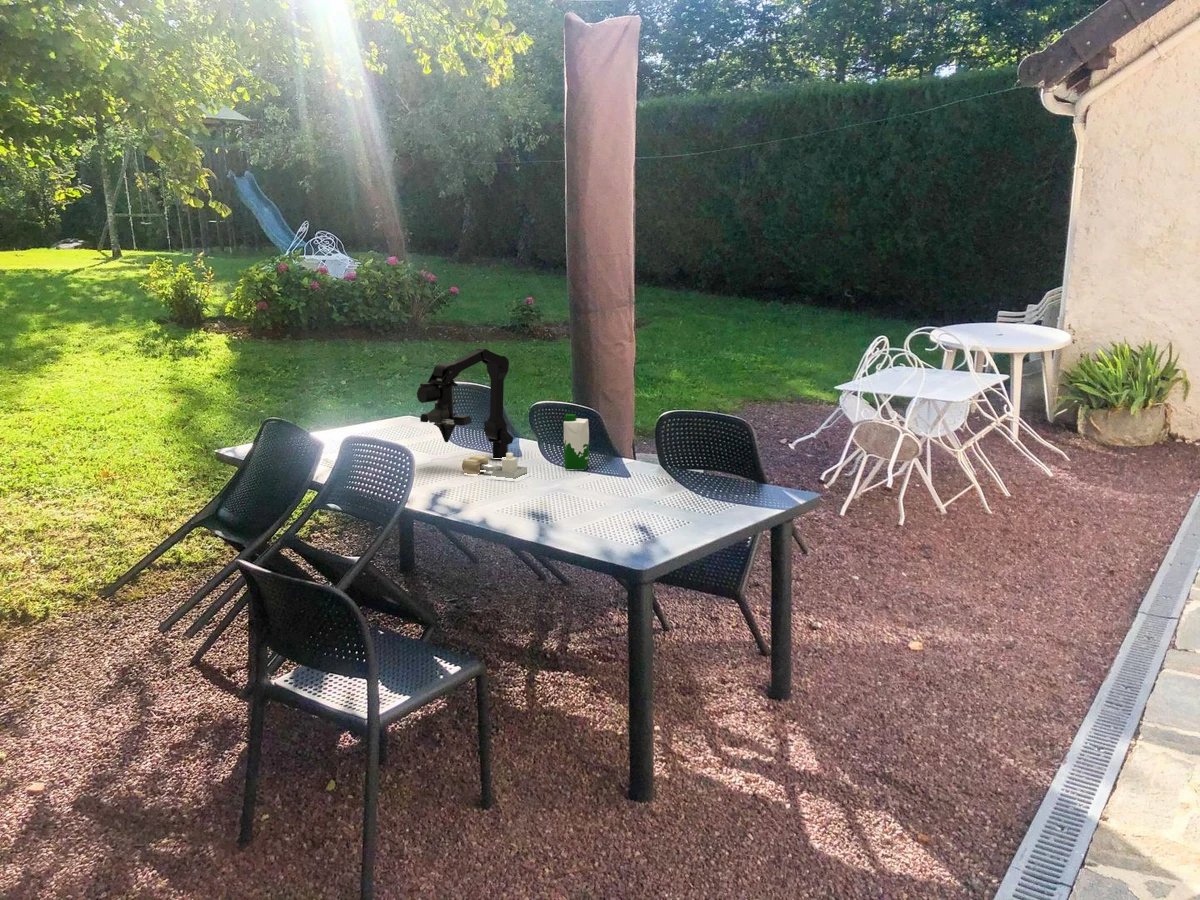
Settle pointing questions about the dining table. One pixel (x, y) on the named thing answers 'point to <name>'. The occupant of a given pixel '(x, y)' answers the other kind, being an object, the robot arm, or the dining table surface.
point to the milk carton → (576, 442)
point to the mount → (474, 464)
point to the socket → (510, 473)
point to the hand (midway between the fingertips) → (446, 442)
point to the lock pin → (486, 467)
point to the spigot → (509, 463)
